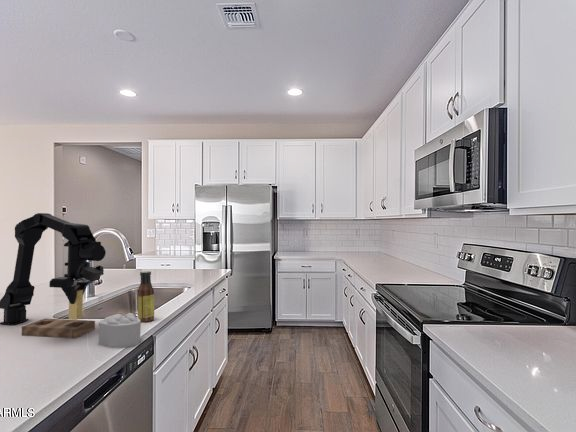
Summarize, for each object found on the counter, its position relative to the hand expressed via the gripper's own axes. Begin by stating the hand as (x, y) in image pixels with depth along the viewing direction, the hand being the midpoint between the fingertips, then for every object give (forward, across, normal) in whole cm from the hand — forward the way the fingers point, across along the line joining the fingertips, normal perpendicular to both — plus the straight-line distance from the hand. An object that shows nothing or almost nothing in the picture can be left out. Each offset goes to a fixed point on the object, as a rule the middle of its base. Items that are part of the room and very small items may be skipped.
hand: (75, 302), depth 122 cm
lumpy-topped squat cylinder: (+11, -6, -21) cm, 24 cm away
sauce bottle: (+11, +18, -17) cm, 27 cm away
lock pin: (+6, 0, 0) cm, 6 cm away
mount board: (+11, 0, +6) cm, 12 cm away
